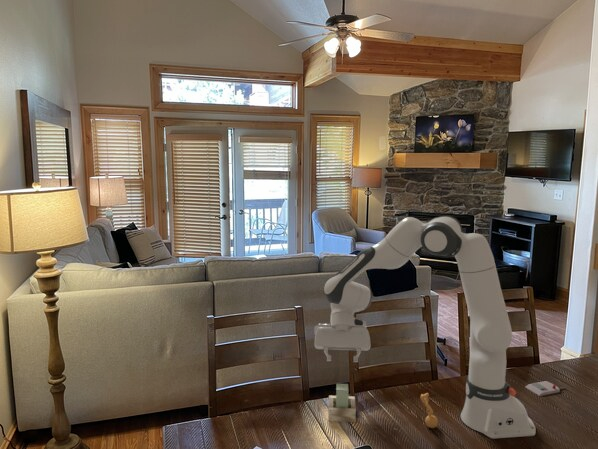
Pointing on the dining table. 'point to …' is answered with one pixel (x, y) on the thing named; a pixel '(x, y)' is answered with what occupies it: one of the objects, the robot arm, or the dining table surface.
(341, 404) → the sage-green peg
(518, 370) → the dining table surface
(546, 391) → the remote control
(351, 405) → the beige square socket frame
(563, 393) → the dining table surface
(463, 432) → the dining table surface
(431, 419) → the figurine
